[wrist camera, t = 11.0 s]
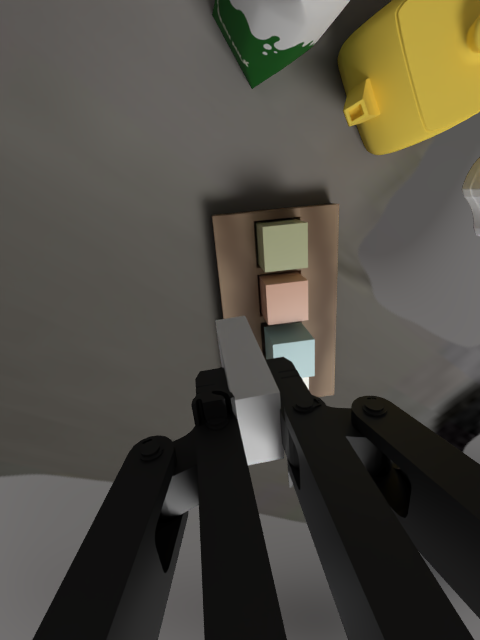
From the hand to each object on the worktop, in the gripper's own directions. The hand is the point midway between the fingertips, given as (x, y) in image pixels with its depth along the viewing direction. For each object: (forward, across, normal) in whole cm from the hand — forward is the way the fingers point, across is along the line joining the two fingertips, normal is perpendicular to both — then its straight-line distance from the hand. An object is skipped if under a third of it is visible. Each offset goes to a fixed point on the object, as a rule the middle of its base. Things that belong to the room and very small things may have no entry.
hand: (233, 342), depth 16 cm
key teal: (+21, +8, -11) cm, 25 cm away
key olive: (+23, +8, 0) cm, 24 cm away
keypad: (+24, +8, -8) cm, 27 cm away
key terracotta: (+23, +8, -6) cm, 25 cm away
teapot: (+24, +22, +15) cm, 36 cm away
